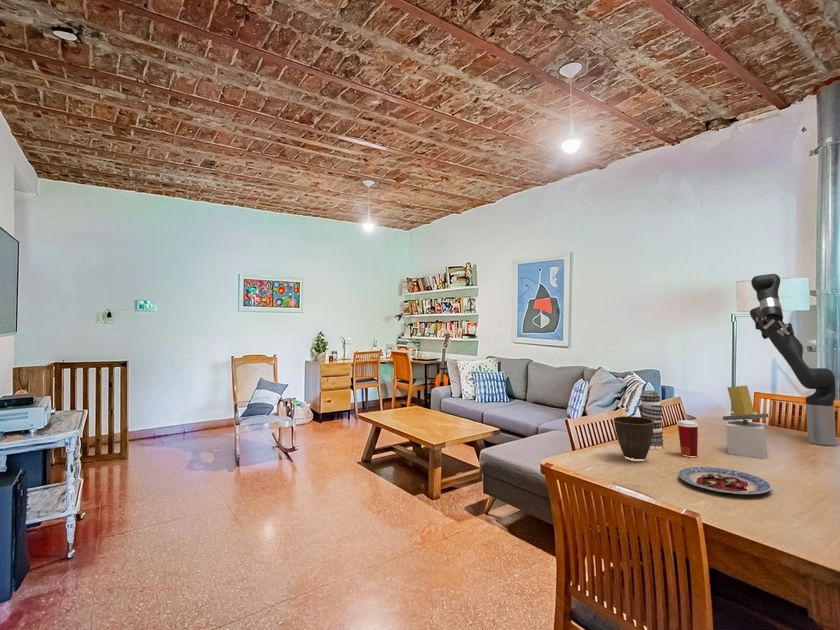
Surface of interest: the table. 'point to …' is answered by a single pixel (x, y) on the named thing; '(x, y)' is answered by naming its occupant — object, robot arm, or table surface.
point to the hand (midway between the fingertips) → (776, 340)
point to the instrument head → (742, 404)
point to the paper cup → (688, 437)
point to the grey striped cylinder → (652, 414)
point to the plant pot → (634, 435)
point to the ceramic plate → (724, 480)
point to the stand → (746, 438)
